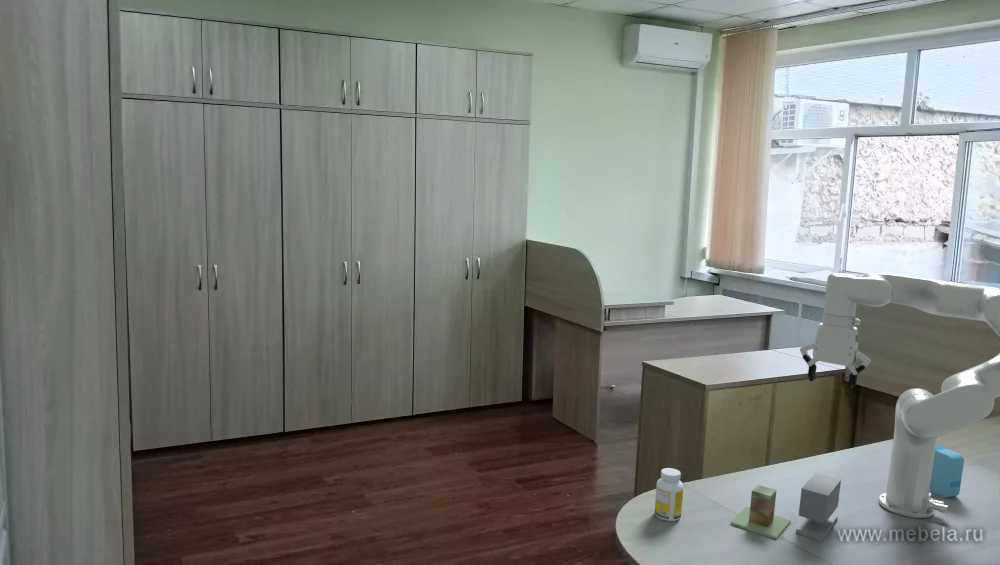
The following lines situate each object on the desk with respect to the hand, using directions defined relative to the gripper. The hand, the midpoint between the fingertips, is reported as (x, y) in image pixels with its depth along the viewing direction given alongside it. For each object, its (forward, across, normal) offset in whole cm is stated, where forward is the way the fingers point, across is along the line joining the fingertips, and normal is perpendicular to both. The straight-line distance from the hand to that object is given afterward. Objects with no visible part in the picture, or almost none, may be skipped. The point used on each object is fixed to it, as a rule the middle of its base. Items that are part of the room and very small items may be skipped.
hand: (831, 384), depth 194 cm
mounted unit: (+30, -5, +21) cm, 37 cm away
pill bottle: (+31, +25, +41) cm, 57 cm away
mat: (+30, +6, +29) cm, 42 cm away
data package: (+31, -24, -24) cm, 46 cm away
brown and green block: (+30, +6, +29) cm, 42 cm away
